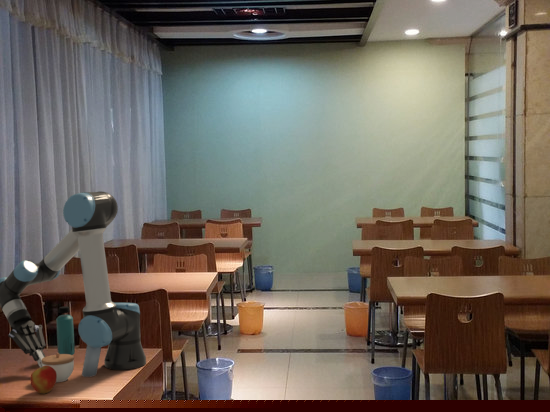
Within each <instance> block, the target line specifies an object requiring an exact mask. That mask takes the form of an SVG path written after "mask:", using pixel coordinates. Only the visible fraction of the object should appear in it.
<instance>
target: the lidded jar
mask: <svg viewBox="0 0 550 412" xmlns="http://www.w3.org/2000/svg"><path fill="white" fill-rule="evenodd" d="M74 360H75V356H74V354H73V355H70V354H59V353H58V352H56V353H55V354H51V355H46V356H45V357H44V358H43V359H42V367H43V366H51V367H52V368H53V369H54V370H55V371H56V374H57V378H56V383H63V382H66V381H68V380H69V378H70V377H71V376H72V374H73V371H74V365H75V364H74V363H75V361H74Z"/></svg>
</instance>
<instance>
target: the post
mask: <svg viewBox="0 0 550 412" xmlns="http://www.w3.org/2000/svg"><path fill="white" fill-rule="evenodd" d="M101 351H102V347H98V348H94V347H90V346H88V345H87V344H86V349H85V354H84V361H83V366H82V372H81V376H82V377H84V378H91V377H95V376H96V375H97V373H98V367H99V363H100V358H101Z"/></svg>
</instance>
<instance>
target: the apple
mask: <svg viewBox="0 0 550 412" xmlns="http://www.w3.org/2000/svg"><path fill="white" fill-rule="evenodd" d="M40 364H41V362H40ZM56 378H57V374H56V371H55V370H54V369H53V368H52V367H51V366H43V367H42V365H41V368H40V367H39V368H37V369H35V370H34V371H32V372H31V374H30V385H31V387H32V388H33V390H34V391H35V392H37V393H38V394H47V393H50V392H51V391H52V390H53V388H54V387H55V385H56V383H57V382H56Z"/></svg>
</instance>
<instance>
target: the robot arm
mask: <svg viewBox="0 0 550 412" xmlns="http://www.w3.org/2000/svg"><path fill="white" fill-rule="evenodd" d="M62 210H63V211H62V212H63V213H62V214H63V218H64V221H65V223H67V224H68V226H70V227H71V229H70V230H69V231H68V232H67V234H66V235H65V236H64V237H63V238H62V239H61V240H59V242H58V243H57V244H56V245H55V246H54V247H53V248H52V249H51V250H50V251H49V252H48V253H47V254H46V255H45V257H43V258H42V259H41V260H40V261H39V262H37V263H33V262H32V261H28V260H27V259H25V260H22V261H20V262H19V263H18V264H17V265H16V266H15V267H14V269H13V270H12V271H11V272H10V273H9V275H8V276H7V277H6V276H4V277H0V308H1V310H2V312H3V314H4V315H5V317H6V319H7V321H8V324H9V326H10V328H11V330H10V332H9V334H8V335H7V336H8V338H10V339H11V340H13V341H14V342H15V344H16V345H17V346H18V347H19V349H20V350H21V351H22V352H23V353H24V355H28V354H29V356H30V357H32V358H33V360H34V361H35V362H37V365H38V367H39V368H41V365H42V359H43V358H44V357H46V355H45V353H44V351H43V350H45V347H46V342H45V337H44V334H43V325H42V324H39V325H36V324H35V322H34V321H32V317H31V315H30V313H29V311H28V310H27V307H26V304H25V303H24V301H23V300H22V297H20V296H21V294H22V293H23V292H24V291H25V289H26V288H27V287H28V286H32V285H37V284H41V283H45V282H51V281H53V280H55V279H57V278H58V277H59V276H60V273H61V269H62V268H63V267H64V266H65V265H66V264H68V263H69V261H71V259H72V258H73V257H75V255H76V254H78V252H79V257H80V265H81V272H82V274H81V275H82V281H83V287H84V295H85V296H84V297H85V306H84V307H83V309H82V315H83V318H81V320H80V321H79V323H78V329H77V330H78V335H79V336H80V339H81V341H82V342H83V343H85V344H86V346H87V345H88V346H90V347H94V348H98V347H101V348H103V347H106V346H107V350H106V354H105V356H104V368H106V369H108V370H116V371H118V370H119V371H124V370H134V369H137V368H140V367H141V368H142V367H143V366H145V365H146V364H147V356H146V353H145V351H144V348H143V346H142V342H141V311H140V306H139V304H138V303H135V302H114V301H112V298H111V297H112V296H111V288H110V281H109V273H108V272H109V271H108V265H107V258H106V257H107V256H106V252H105V243H104V232H105V231H106V230H107V227H108V226H109V225H110V224H111V223H112V222H113V221H114V220H115V218H116V217H117V214H118V210H119V206H118V202H117V200H116V198H115V197H114V196H113V195H112V194H111V193H109V192H106V191H87V192H80V193H79V192H78V193H74V194H73V195H70V196H69V197H68V198H67V199H66V201H65V203H64V206H63V209H62ZM40 362H41V364H40Z"/></svg>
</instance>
